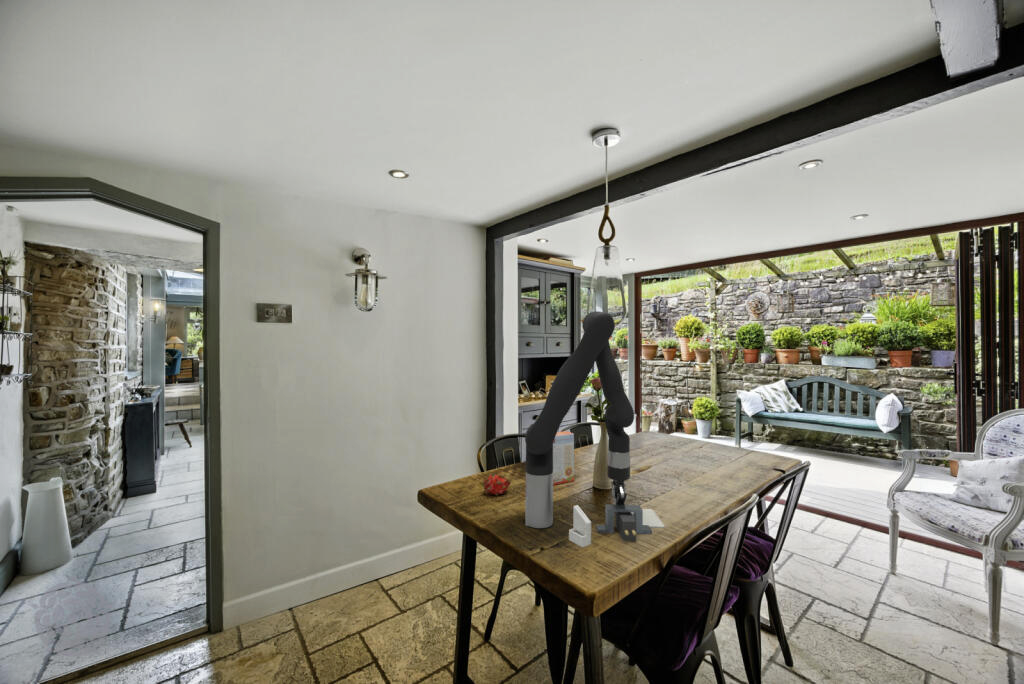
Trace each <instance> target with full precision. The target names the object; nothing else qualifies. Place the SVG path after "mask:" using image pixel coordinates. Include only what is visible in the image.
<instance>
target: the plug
mask: <svg viewBox="0 0 1024 684" xmlns="http://www.w3.org/2000/svg"><path fill="white" fill-rule="evenodd" d="M615 527H616V530H617V531H618V534H619V536H620V537H621V539H622V541H623V542H629V541H630V542H637V534H636V521H635V519H634V517H633V514H632V513H631V512H616V515H615Z"/></svg>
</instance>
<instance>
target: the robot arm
mask: <svg viewBox="0 0 1024 684" xmlns="http://www.w3.org/2000/svg"><path fill="white" fill-rule="evenodd" d="M581 325H582V329H583V335H582V337H581V339H580V342H579V343H578V345H577V347H576V348H575V350H574V351H573V352H572V353H571V354H570V356H568V358H567V359H566V360H565V362H563V364H562V366H561V367H560V368H559V370H558V372H557V374H556V376H555V377H554V380H553V382H552V384H551V386H550V388H549V391H548V394H547V396H546V400H545V402H544V404H543V408H542V411H541V412H540V413H539V415H538V417H537V418H536V420H535V421H534V423H531V424H530V425H529V426H528V427H527V428H526V429H527V430H526V432H525V437H524V441H525V467H524V468H525V497H524V498H525V500H524V503H525V514H524V516H525V518H524V519H525V526H526V527H530V528H534V529H547V528H549V527H551V526H552V525H553V523H554V485H553V441H554V439H555V436H556V434H557V432H559V429H560V426H561V424H562V422H563V421H564V418H565V416H566V415H568V414H567V413H569V411H570V409H571V407H572V406H573V404H574V403H575V402H576V399H577V398H578V396H579V395H580V392H581V391H582V390H583V387H584V385H585V382H586V381H587V379H588V377H589V375H590V373H591V371H592V369H593V367H594V365H595V366H596V368H597V373H598V377H599V382H600V385H601V386H600V387H601V390H602V393H603V396H604V399H606V400H607V401H608V402H609V403H610V404H609V405H608V406H607V407H606V410H605V412H604V423H605V427H606V432H607V437H608V440H607V441H608V446H607V447H608V448H607V449H608V450H607V467H606V468H607V471H606V475H607V478H608V479H610V480H611V481H610V485H611V491H612V492H611V493H612V499H613V503H614V505H625V502H626V499H627V496H628V495H627V493H626V484H625V481H628V480H630V478H631V454H630V451H631V450H630V446H631V445H630V443H631V440H630V435H629V434H628V433H627V432H626V431H625V430H624V429H625V428H629V427H630V426H632V424H633V423H634V419H635V413H634V412H635V411H634V409H633V407H632V403H631V402H630V399H629V397H628V395H627V394H626V391H625V387H624V384H623V380H622V375H621V372H620V369H619V367H618V365H617V362H616V359H615V357H614V354H613V352H612V349H611V346H610V345H611V344H610V340H611V339H610V338H611V337H612V335H613V334H614V332H615V328H616V323H615V319H614V318H613V316H612V315H611V314H610V313H608V312H604V311H591V312H588V313H587V314H586V315H585V316H584V317H583V320H582V324H581ZM614 516H616V512H614Z"/></svg>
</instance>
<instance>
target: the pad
mask: <svg viewBox="0 0 1024 684" xmlns="http://www.w3.org/2000/svg"><path fill="white" fill-rule="evenodd" d="M642 510H643V525H649V527H650V528H651V529H654V528H655V529H656V528H658V529H661V528H662V529H666V527H665V524H664V523H663V521H662V520H661V519H660V518H659V516H658V515H657V513H656V512H655V511H654V509H653V508H642ZM631 514H632V515H633V512H631Z"/></svg>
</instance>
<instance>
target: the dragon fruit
mask: <svg viewBox="0 0 1024 684" xmlns="http://www.w3.org/2000/svg"><path fill="white" fill-rule="evenodd" d="M510 485H511V481H510V480H509V479H508V478H506V477H503V475H502V474H501V473H500V474H498V475H497V474H496V473H494V474H492V475H490V474H488V475H487V477H485V479H483V484H482V487H483V489H484V490H483V491H484V492H485V493H489V494H490V495H491V496H492V495H495V496H499V495H501V494H502V495H504V494H506V491H507V490H508V488H509V487H510Z"/></svg>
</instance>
